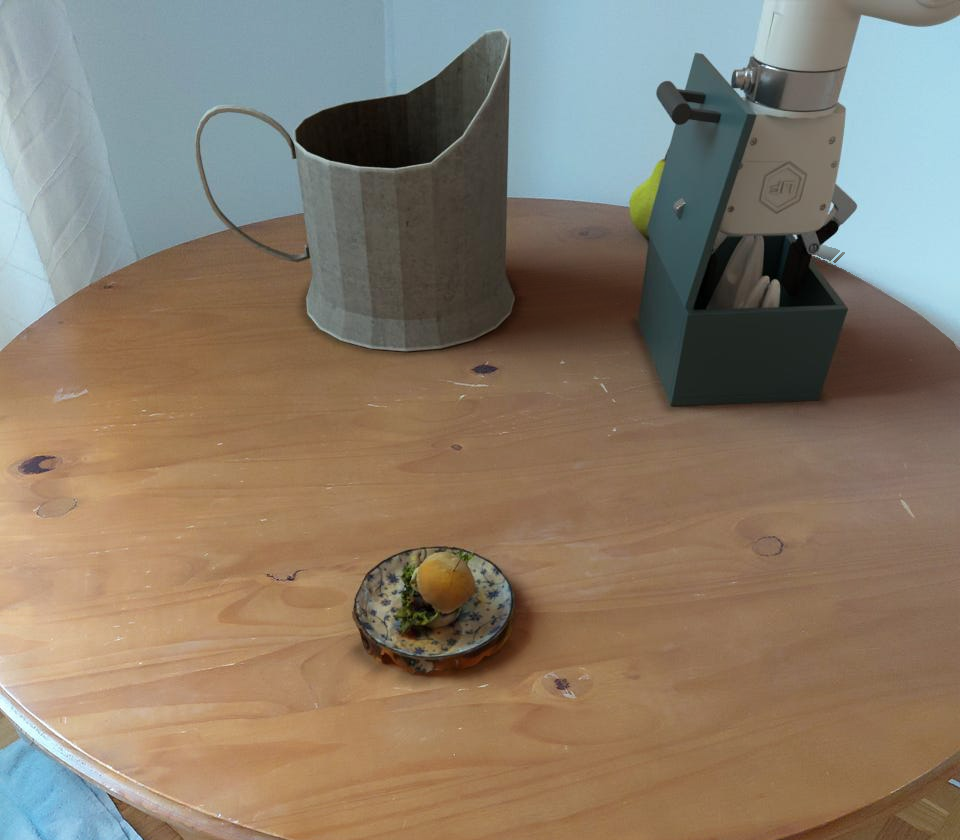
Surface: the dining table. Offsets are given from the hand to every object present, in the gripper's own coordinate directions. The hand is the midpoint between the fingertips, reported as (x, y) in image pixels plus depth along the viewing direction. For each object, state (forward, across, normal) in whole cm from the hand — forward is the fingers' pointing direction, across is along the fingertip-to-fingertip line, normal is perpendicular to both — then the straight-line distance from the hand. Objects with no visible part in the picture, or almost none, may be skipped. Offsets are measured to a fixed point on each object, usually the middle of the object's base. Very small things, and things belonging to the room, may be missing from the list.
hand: (745, 290), depth 86 cm
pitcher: (+8, -37, +15) cm, 40 cm away
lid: (-10, -7, 0) cm, 12 cm away
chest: (+7, -1, 0) cm, 7 cm away
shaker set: (+7, 0, 0) cm, 7 cm away
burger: (+8, -32, -35) cm, 48 cm away
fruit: (+8, -2, +30) cm, 31 cm away
